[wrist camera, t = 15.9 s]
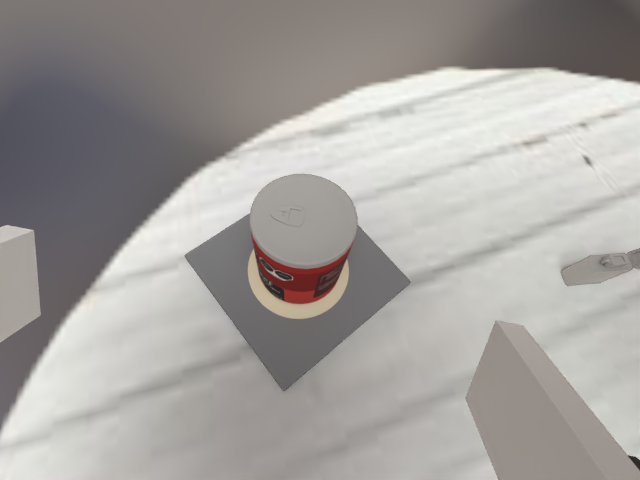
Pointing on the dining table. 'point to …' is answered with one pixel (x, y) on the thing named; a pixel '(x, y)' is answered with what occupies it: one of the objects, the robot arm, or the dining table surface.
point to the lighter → (600, 268)
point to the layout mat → (287, 318)
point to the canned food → (302, 236)
